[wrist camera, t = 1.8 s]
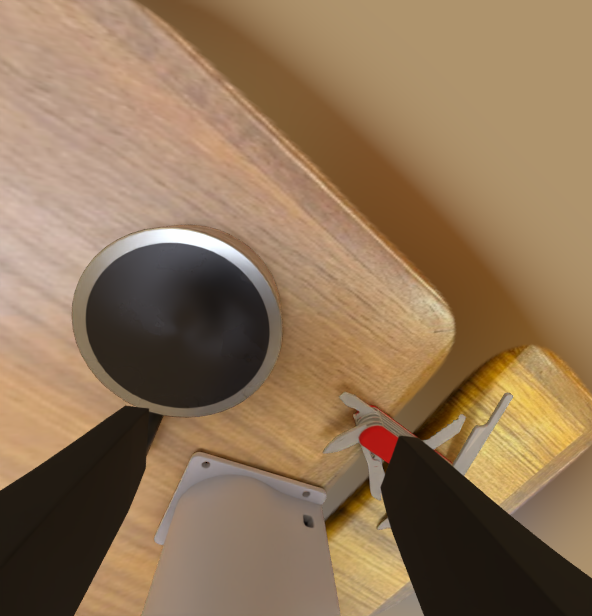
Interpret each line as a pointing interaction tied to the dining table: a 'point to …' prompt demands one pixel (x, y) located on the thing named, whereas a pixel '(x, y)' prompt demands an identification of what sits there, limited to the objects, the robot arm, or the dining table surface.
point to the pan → (178, 321)
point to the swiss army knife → (385, 431)
